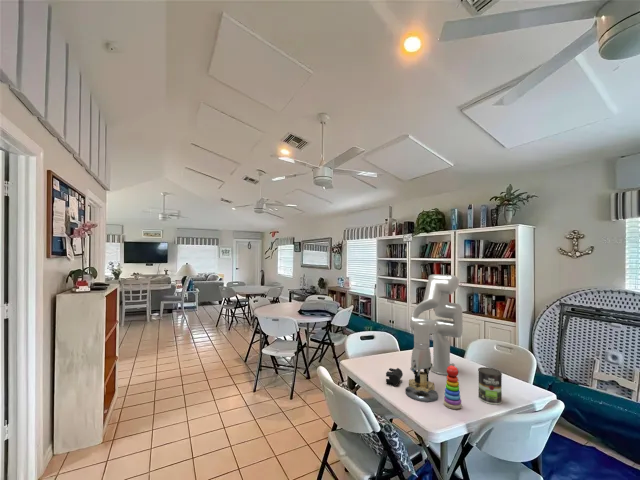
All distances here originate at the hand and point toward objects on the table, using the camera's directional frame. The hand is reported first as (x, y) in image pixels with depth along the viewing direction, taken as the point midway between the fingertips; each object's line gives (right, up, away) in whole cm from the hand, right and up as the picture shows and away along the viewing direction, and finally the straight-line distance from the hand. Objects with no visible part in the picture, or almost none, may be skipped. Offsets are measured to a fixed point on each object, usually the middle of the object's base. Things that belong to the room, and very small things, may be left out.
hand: (421, 381), depth 153 cm
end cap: (-11, -7, +13) cm, 19 cm away
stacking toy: (+11, -7, -11) cm, 17 cm away
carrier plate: (0, -7, 0) cm, 7 cm away
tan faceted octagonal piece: (0, -2, 0) cm, 2 cm away
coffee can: (+33, -7, -5) cm, 34 cm away
